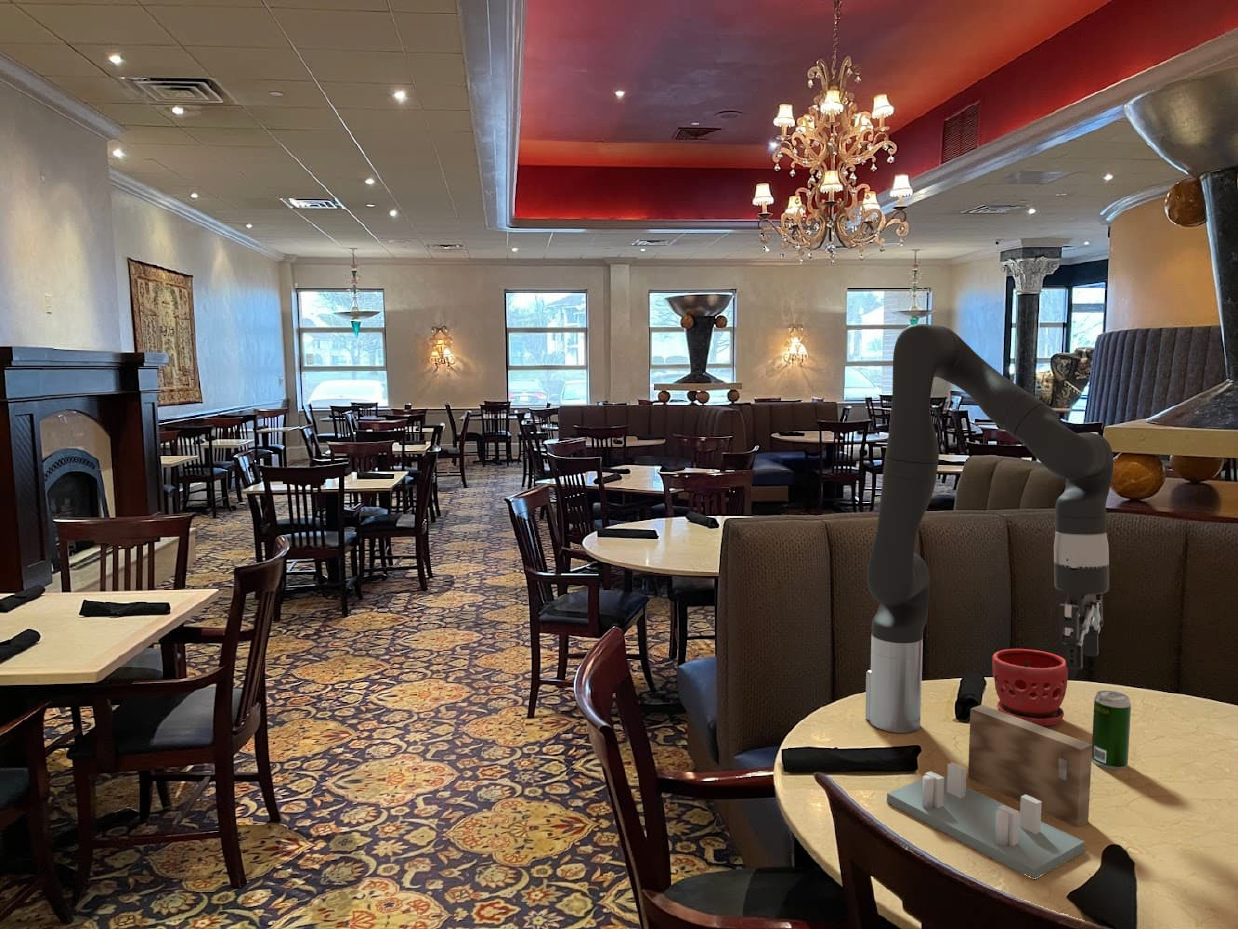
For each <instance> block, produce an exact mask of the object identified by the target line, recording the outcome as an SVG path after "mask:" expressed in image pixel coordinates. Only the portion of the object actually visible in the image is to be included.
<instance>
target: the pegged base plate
mask: <svg viewBox="0 0 1238 929" xmlns="http://www.w3.org/2000/svg"><path fill="white" fill-rule="evenodd" d="M946 776H947V777H946ZM946 776H944V775H942V774H939V773H938V772H937V773H936V772H933V771H927V772H925V774H924V775H923V776H922V778H921V779H918V780H917V781H914V782H911V783H910V784H905V786H904V785H903V786H901V787H898V788H897V789H894V790H892V791H890V792H887V793H886V803H887V804H890V805H891V806H893V807H895V808H896V809H899V810H901V811H903V812H904V813H906V814H908V815H910V816H912V817H914V818H916V819H918V820H919V821H922V822H923V823H925V824H927V825H929V826H930V827H933V828H934V829H936V830H939V831H940V832H942V833H944V834H946V835H948V836H950V837H952V838H953V839H956V840H957V841H959V842H961V843H963V844H965V845H967V846H969V847H970V848H973V849H974V850H977V851H978V852H980V853H983V854H984V855H986V856H987V857H990V858H991V859H993V860H995V861H997V862H999V863H1001V864H1003V865H1004V866H1007V867H1008V868H1011V869H1012V870H1014V871H1016V872H1018V873H1020V874H1022V875H1024V874H1026V875H1027V876H1030V877H1031V878H1034V879H1035V878H1037V877H1039V876H1040V875H1042V874H1044V875H1046V874H1048V873H1049V871H1050V870H1051V871H1053V870H1055V869H1056V867H1057V866H1058V867H1060V866H1062V865H1063V864H1062V863H1064V862H1065V863H1067V862H1069V861H1071V860H1072V859H1074V858H1076V857H1078V856H1079V855H1081V854H1083V853H1084V852H1085V846H1086V844H1085V843H1086V842H1085V840H1083V839H1080V838H1077V837H1076V836H1074V835H1071V834H1069V833H1067V832H1065V831H1063V830H1061V829H1059V828H1056V827H1054V826H1052V825H1050V824H1047V823H1045V822H1043V821H1041V820H1042V811H1041V805H1042V801H1039V800H1037V799H1035V798H1033V797H1030V796H1028V795H1026V794H1025V795H1023V796H1021V801H1020V804H1019V805H1020V806H1019V807H1020V808H1019V810H1020V811H1019V810H1017V809H1015V808H1013V807H1011V806H1008V805H1006V804H1005V803H1002V802H1000V801H998V800H996V799H993V798H992V797H990V796H987V795H985V794H983V793H981V792H978V791H976V790H974V789H971V788H969V787H968V786H966V785H967V767H964V766H962V765H960V764H958V763H955V762H953V761H952V762H950V763H948V764H947V775H946ZM1066 861H1067V862H1066ZM1065 863H1064V864H1065ZM1061 864H1062V865H1061ZM1059 865H1060V866H1059ZM1058 867H1057V868H1058ZM1054 868H1055V869H1054ZM1052 869H1053V870H1052ZM1051 871H1050V872H1051ZM1047 872H1048V873H1047ZM1045 873H1046V874H1045ZM1027 876H1026V877H1027ZM1031 878H1030V879H1031ZM1039 878H1040V877H1039ZM1037 879H1038V878H1037Z"/></svg>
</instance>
